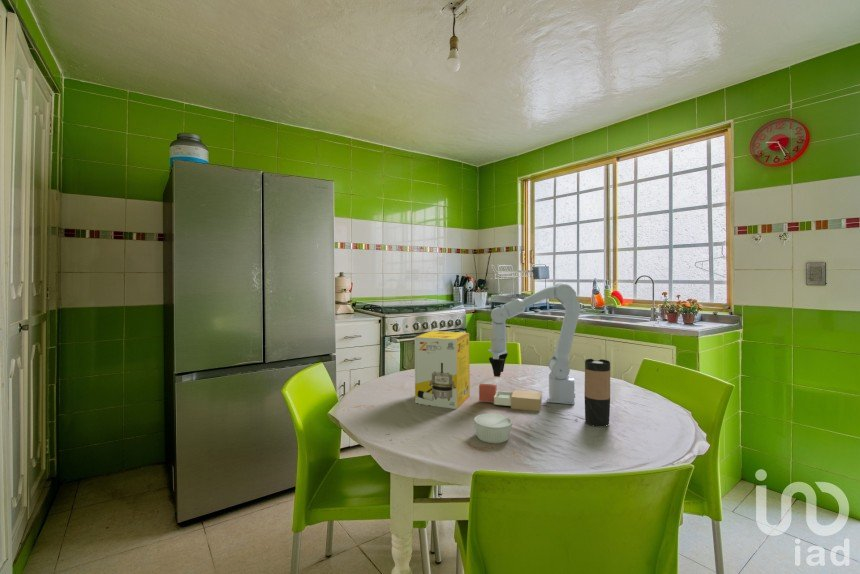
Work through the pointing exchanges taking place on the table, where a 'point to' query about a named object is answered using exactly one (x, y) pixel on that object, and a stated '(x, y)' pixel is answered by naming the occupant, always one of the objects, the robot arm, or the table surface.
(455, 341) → the packaging box
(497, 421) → the ramekin
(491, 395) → the red and white box
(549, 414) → the table surface
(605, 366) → the travel mug
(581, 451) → the table surface
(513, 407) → the sleeve
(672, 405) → the table surface
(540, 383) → the table surface
